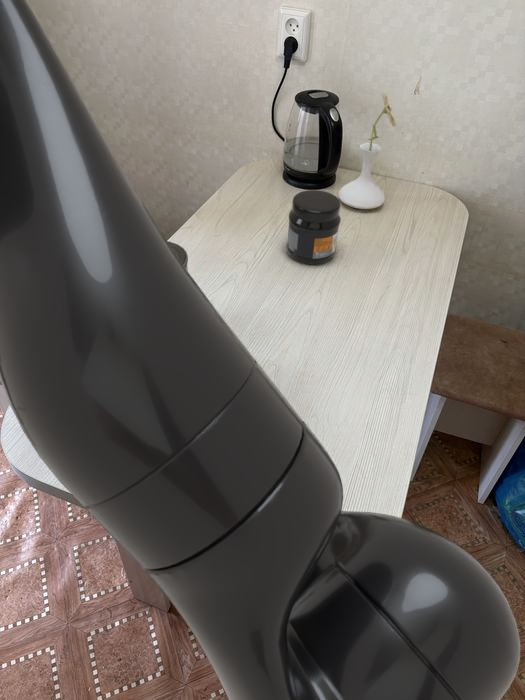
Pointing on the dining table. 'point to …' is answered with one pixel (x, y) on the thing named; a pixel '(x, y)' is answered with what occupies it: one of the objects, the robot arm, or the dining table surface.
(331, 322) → the dining table surface
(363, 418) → the dining table surface
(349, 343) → the dining table surface
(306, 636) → the robot arm
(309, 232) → the supplement container
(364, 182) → the flower in vase
